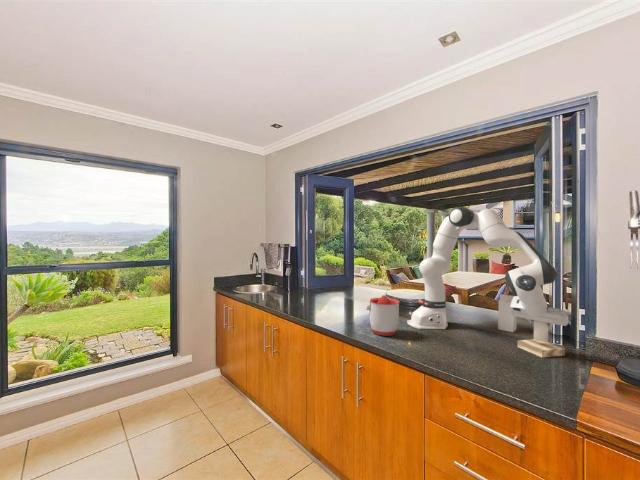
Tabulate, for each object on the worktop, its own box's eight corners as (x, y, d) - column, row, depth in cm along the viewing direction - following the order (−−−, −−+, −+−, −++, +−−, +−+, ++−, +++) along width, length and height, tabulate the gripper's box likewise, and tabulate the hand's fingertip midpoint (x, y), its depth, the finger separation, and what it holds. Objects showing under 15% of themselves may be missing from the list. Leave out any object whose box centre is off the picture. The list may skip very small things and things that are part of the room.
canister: (541, 342, 126) (542, 312, 126) (529, 337, 132) (530, 309, 132) (552, 341, 127) (552, 312, 127) (539, 337, 133) (540, 308, 133)
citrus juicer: (366, 326, 162) (366, 291, 162) (398, 329, 159) (398, 292, 159) (364, 336, 147) (365, 297, 147) (400, 339, 144) (400, 298, 143)
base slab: (542, 357, 123) (542, 350, 123) (517, 346, 134) (517, 340, 134) (564, 355, 125) (565, 348, 125) (538, 345, 137) (538, 338, 137)
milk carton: (501, 326, 164) (502, 293, 164) (516, 329, 159) (517, 295, 159) (498, 329, 159) (498, 295, 159) (513, 332, 154) (513, 297, 154)
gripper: (567, 304, 117) (572, 323, 123) (509, 295, 133) (517, 313, 139) (563, 316, 114) (570, 336, 120) (505, 306, 130) (513, 324, 137)
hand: (541, 324), depth 130 cm, fingers closed on canister, 5 cm apart
